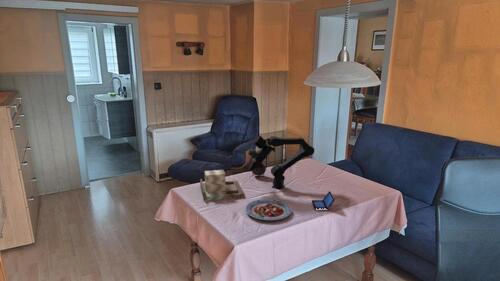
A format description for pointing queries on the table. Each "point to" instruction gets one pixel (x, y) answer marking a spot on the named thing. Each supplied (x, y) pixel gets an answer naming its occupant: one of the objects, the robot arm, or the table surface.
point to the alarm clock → (259, 170)
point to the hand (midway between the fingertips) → (248, 171)
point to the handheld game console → (324, 202)
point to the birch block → (215, 180)
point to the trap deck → (230, 191)
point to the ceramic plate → (268, 209)
